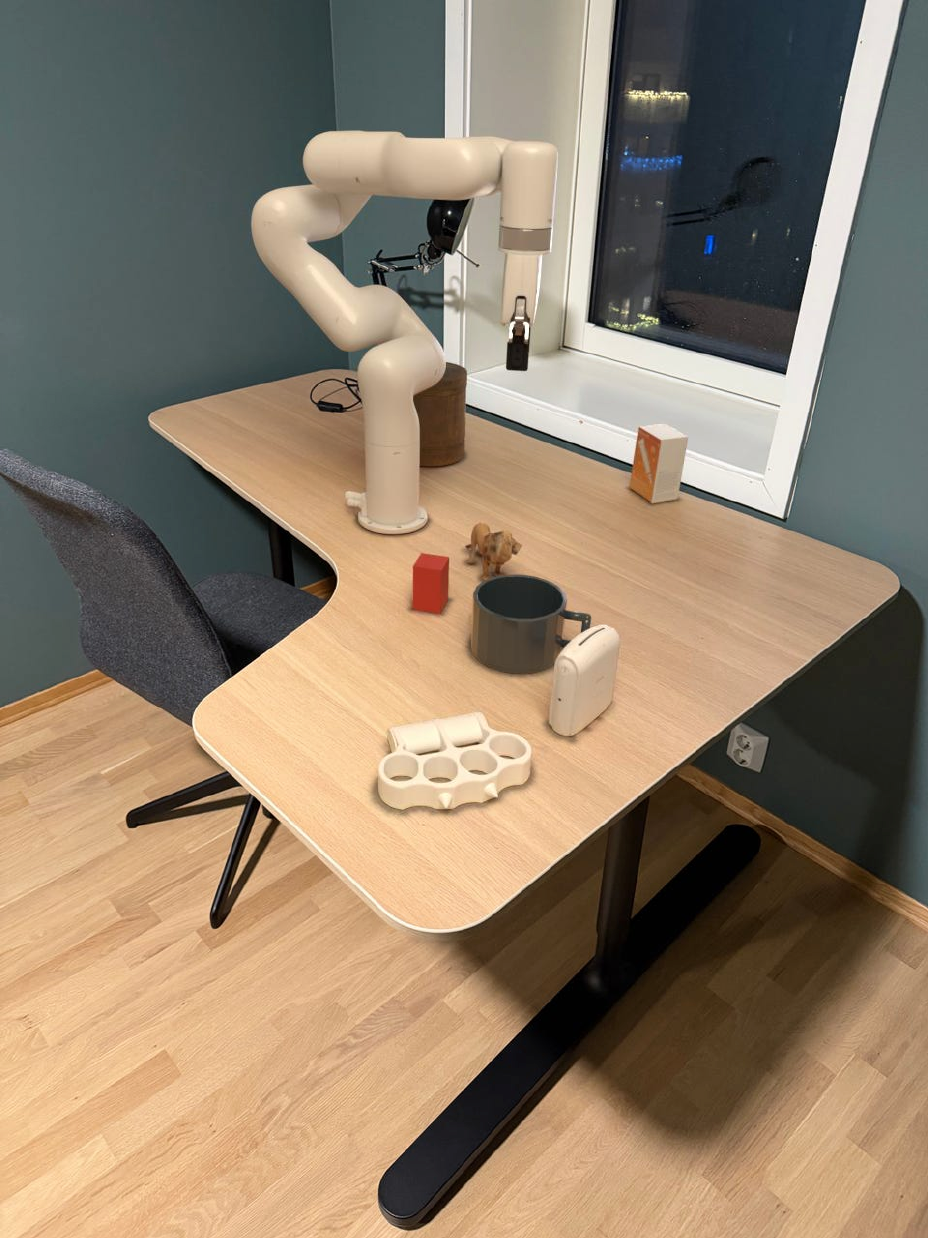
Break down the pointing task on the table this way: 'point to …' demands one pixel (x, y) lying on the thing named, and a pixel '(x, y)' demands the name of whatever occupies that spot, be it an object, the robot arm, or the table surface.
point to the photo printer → (584, 679)
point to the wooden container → (442, 418)
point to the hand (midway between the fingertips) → (517, 361)
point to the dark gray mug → (520, 623)
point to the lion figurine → (492, 548)
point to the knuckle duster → (451, 762)
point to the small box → (658, 462)
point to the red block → (430, 583)
